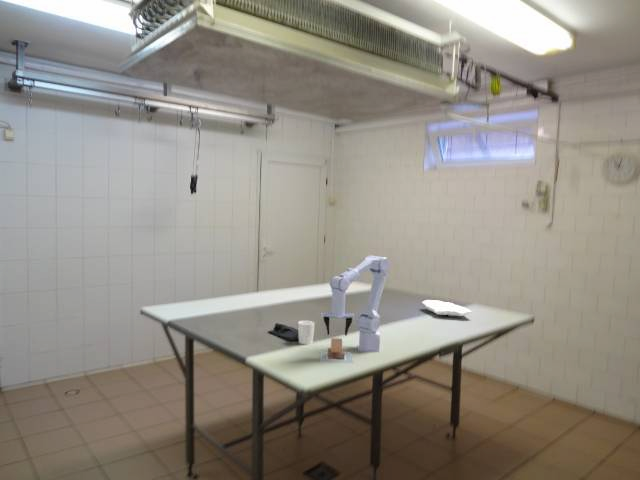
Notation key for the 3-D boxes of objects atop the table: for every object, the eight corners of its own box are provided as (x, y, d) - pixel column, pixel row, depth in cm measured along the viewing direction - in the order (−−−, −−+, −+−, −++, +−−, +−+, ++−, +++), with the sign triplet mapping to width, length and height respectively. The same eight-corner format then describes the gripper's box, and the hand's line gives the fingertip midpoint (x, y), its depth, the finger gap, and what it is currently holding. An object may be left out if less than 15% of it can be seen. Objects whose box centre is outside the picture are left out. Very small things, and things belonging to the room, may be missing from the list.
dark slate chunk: (288, 344, 222) (288, 334, 221) (266, 332, 240) (266, 323, 239) (314, 340, 230) (315, 330, 230) (291, 329, 248) (292, 320, 248)
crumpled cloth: (458, 322, 273) (460, 306, 273) (409, 309, 299) (412, 295, 299) (477, 322, 289) (480, 308, 289) (430, 310, 315) (432, 297, 315)
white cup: (313, 340, 228) (314, 320, 227) (313, 345, 220) (314, 325, 219) (297, 340, 227) (298, 320, 227) (297, 345, 219) (298, 324, 219)
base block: (343, 354, 208) (343, 348, 208) (344, 359, 201) (344, 353, 201) (327, 353, 208) (328, 348, 208) (328, 358, 201) (328, 353, 201)
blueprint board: (350, 352, 211) (350, 351, 211) (353, 363, 197) (353, 362, 197) (319, 351, 211) (319, 350, 211) (320, 362, 197) (320, 361, 197)
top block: (340, 349, 207) (341, 338, 206) (341, 352, 202) (342, 341, 202) (330, 349, 206) (331, 338, 206) (331, 352, 202) (331, 341, 202)
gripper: (322, 305, 198) (320, 336, 199) (355, 306, 199) (354, 337, 200) (321, 301, 205) (320, 331, 206) (354, 303, 206) (352, 333, 207)
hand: (337, 334), depth 204 cm, fingers open, 7 cm apart
